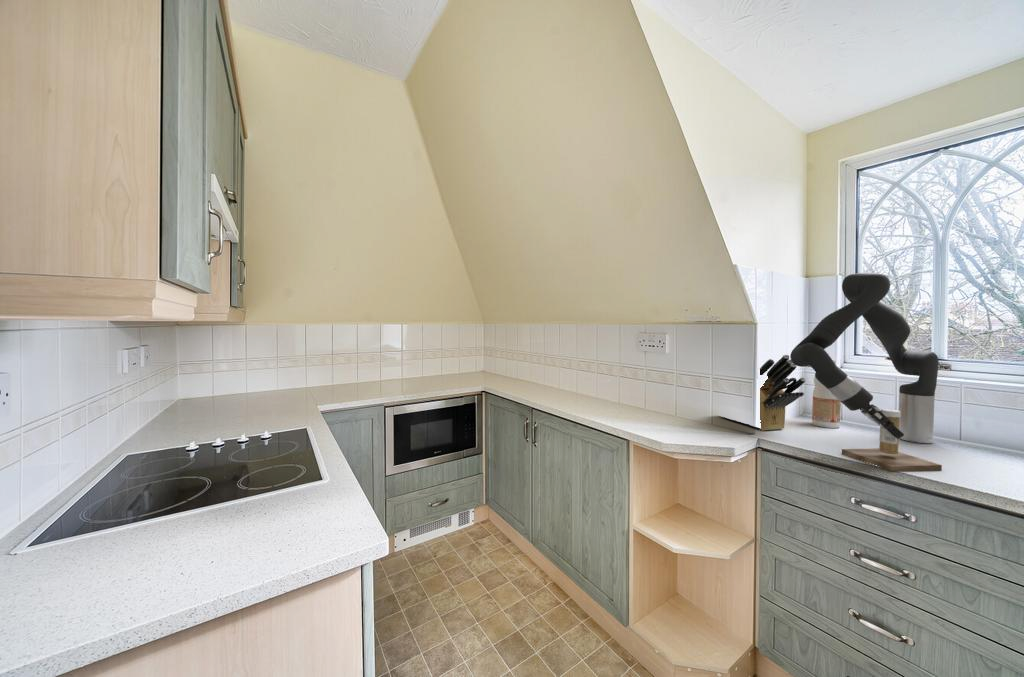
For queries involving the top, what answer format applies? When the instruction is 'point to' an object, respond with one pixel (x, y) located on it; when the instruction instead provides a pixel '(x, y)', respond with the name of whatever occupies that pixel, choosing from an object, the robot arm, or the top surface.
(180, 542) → the top surface
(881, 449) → the sprinkles bottle
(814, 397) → the fruit juice
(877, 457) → the walnut board
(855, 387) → the robot arm
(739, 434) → the top surface
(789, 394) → the knife block
